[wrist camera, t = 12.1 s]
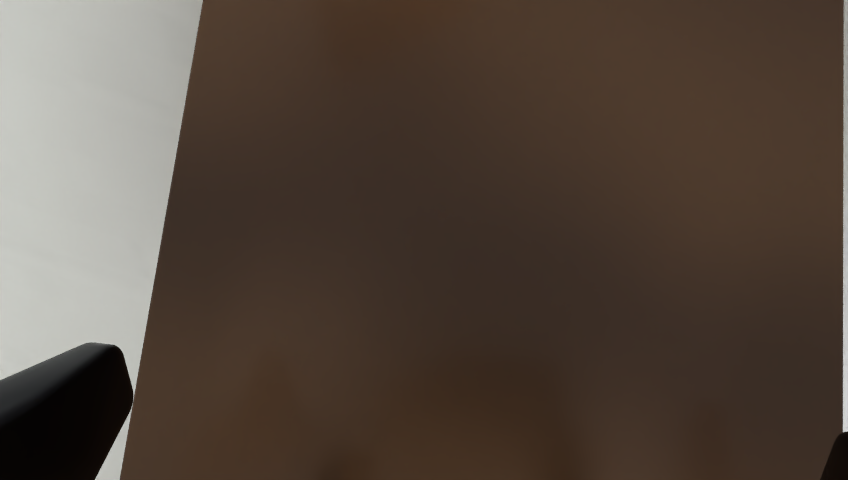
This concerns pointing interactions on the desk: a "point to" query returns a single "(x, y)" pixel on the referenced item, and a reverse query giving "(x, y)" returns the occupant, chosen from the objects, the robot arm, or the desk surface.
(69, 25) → the desk surface
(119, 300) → the desk surface
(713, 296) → the lid
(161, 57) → the desk surface
